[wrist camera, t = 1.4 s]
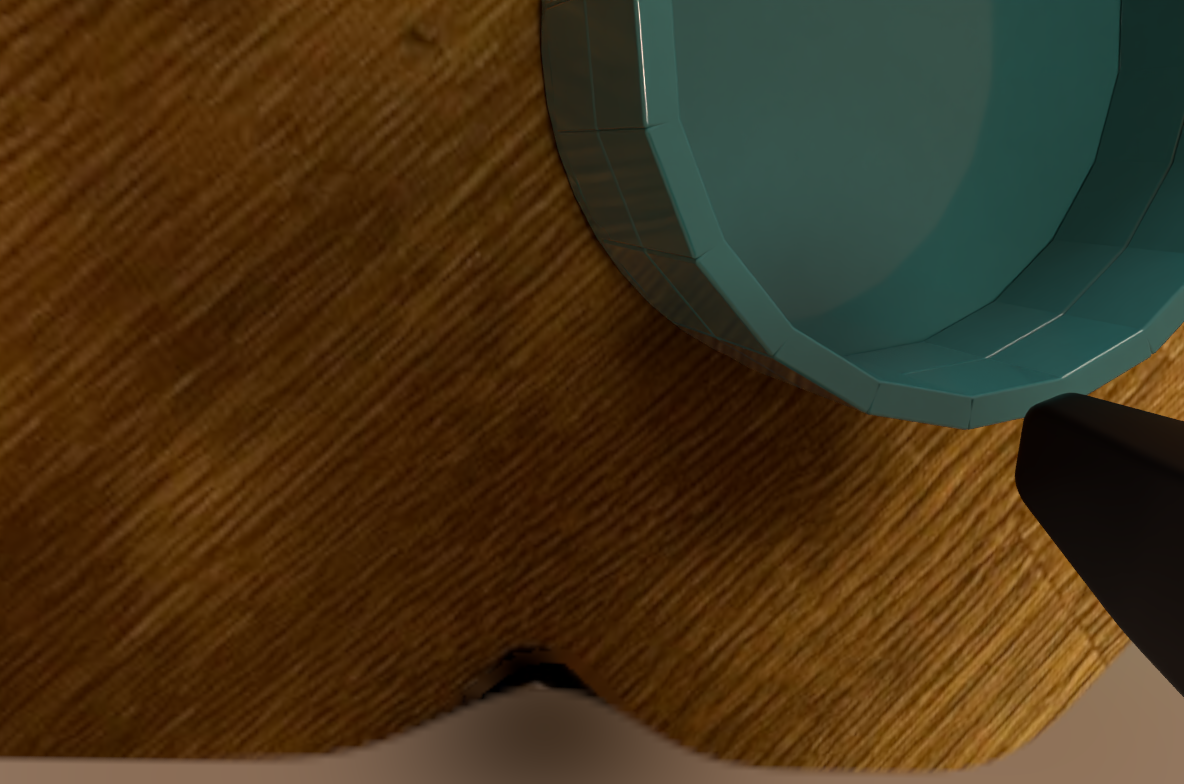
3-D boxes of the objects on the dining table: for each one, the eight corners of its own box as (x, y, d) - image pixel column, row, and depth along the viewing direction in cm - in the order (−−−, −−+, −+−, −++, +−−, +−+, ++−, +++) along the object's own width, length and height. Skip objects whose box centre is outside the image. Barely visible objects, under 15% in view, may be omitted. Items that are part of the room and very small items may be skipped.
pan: (1030, 414, 25) (1198, 467, 21) (475, 320, 20) (552, 365, 16) (1192, -191, 23) (1411, -263, 19) (625, -458, 18) (756, -634, 14)
